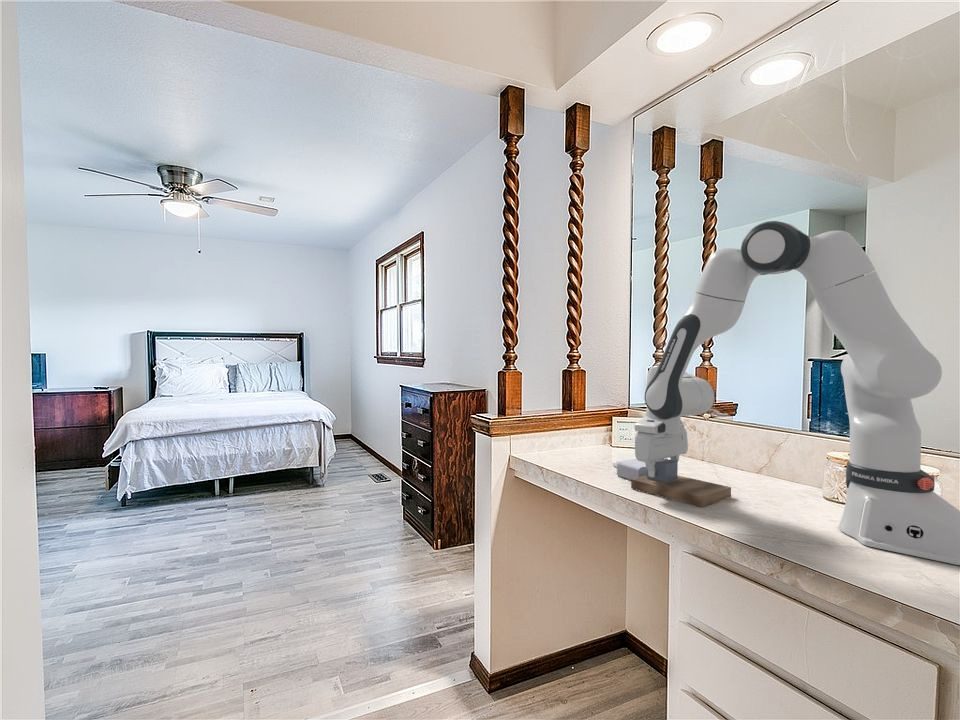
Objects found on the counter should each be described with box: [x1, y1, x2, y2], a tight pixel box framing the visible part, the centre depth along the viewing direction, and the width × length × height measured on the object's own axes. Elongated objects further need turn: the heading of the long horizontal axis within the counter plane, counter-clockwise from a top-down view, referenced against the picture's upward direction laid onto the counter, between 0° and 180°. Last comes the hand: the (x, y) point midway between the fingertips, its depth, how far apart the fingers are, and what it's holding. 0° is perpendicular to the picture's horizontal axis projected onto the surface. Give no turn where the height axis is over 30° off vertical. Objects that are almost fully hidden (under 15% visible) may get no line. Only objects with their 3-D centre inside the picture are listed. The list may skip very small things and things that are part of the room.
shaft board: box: [630, 474, 732, 508], centre depth 127 cm, size 20×14×6 cm
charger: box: [612, 458, 647, 481], centre depth 145 cm, size 5×9×15 cm
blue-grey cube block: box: [647, 458, 679, 483], centre depth 131 cm, size 6×6×5 cm
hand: (662, 473), depth 131 cm, fingers open, 8 cm apart
